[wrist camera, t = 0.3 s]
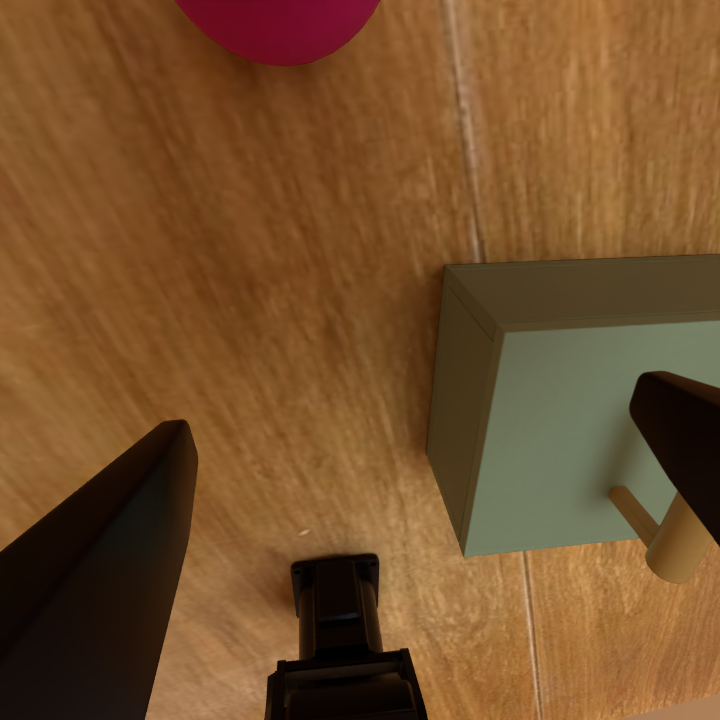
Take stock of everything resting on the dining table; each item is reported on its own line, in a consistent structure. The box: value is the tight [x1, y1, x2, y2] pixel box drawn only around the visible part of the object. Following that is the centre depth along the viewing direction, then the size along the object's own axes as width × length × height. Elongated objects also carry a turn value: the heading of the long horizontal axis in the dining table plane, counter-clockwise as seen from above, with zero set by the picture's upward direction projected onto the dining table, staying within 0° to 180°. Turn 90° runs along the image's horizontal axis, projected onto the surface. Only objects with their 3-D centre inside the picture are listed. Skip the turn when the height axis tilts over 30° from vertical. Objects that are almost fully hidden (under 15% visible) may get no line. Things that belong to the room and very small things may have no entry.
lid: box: [459, 312, 720, 584], centre depth 18 cm, size 16×13×5 cm
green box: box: [426, 254, 720, 542], centre depth 23 cm, size 16×13×7 cm
